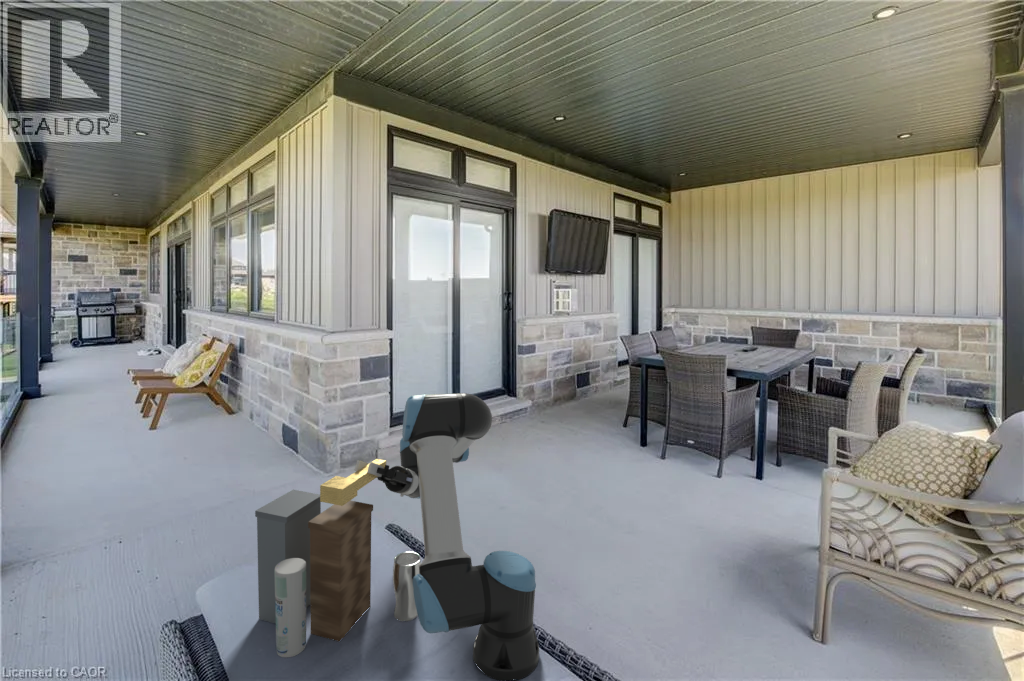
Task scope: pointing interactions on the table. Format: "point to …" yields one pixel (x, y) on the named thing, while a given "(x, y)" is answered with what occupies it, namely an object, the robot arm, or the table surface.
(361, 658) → the table surface
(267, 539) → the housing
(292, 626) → the spray can
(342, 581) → the block
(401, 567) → the beer glass
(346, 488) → the pin
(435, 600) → the robot arm
